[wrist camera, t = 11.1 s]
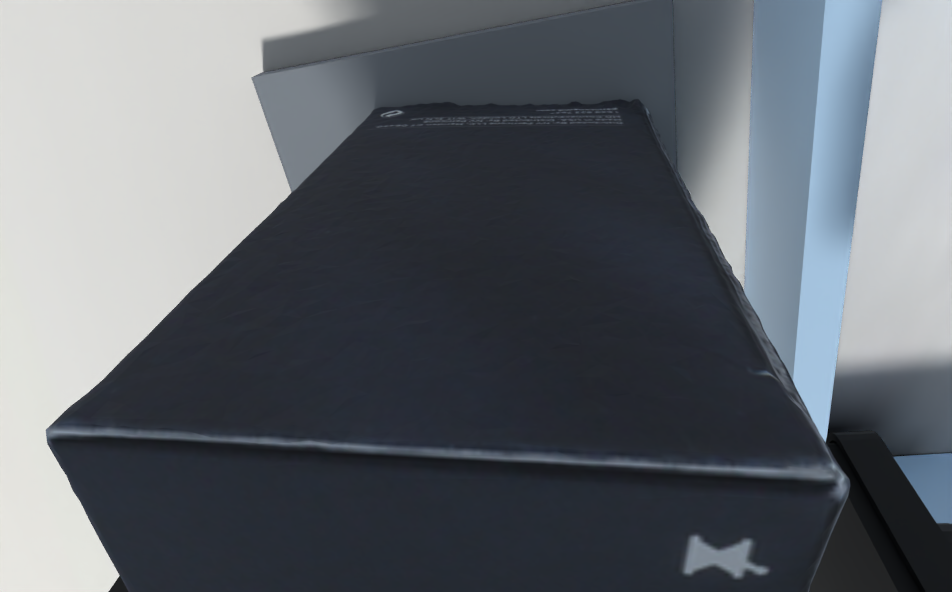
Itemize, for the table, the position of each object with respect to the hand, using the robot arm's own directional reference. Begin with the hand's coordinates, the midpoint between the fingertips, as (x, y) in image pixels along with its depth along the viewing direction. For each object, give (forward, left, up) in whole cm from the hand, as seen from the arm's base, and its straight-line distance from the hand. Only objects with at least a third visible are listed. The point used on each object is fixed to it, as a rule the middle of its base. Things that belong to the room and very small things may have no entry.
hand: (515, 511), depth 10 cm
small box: (+1, 0, -7) cm, 7 cm away
